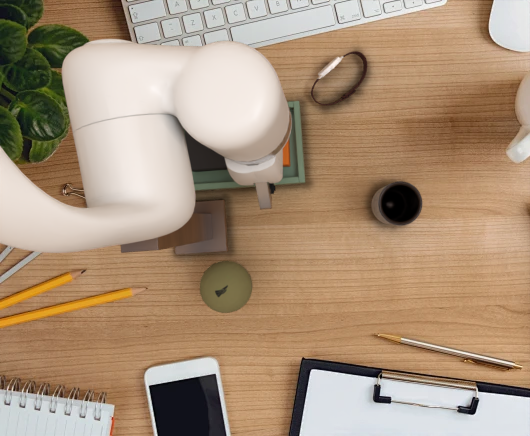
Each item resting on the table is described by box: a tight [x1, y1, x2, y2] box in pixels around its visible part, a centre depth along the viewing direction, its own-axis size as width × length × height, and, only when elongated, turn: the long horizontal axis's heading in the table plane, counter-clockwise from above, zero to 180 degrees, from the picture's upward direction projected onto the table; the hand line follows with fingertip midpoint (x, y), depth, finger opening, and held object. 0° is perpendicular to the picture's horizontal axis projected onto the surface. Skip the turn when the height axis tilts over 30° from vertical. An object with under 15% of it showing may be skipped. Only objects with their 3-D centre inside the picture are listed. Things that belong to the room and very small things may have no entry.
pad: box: [185, 130, 228, 172], centre depth 70 cm, size 5×5×3 cm
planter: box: [370, 180, 423, 227], centre depth 67 cm, size 4×4×10 cm
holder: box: [183, 100, 307, 192], centre depth 71 cm, size 14×9×2 cm, turn 94°
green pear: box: [199, 260, 254, 314], centre depth 67 cm, size 6×6×10 cm
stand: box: [120, 199, 229, 256], centre depth 60 cm, size 6×6×24 cm
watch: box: [310, 50, 368, 107], centre depth 70 cm, size 8×5×4 cm, turn 132°
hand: (267, 144), depth 71 cm, fingers open, 5 cm apart
